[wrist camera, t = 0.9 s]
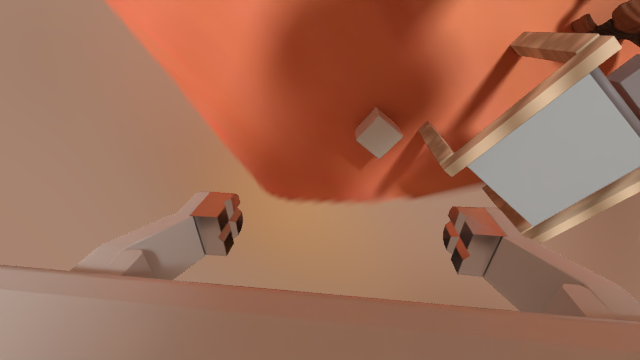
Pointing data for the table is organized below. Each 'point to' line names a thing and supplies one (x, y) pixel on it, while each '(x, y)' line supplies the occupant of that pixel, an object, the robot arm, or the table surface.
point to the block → (378, 133)
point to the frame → (579, 61)
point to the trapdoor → (569, 145)
